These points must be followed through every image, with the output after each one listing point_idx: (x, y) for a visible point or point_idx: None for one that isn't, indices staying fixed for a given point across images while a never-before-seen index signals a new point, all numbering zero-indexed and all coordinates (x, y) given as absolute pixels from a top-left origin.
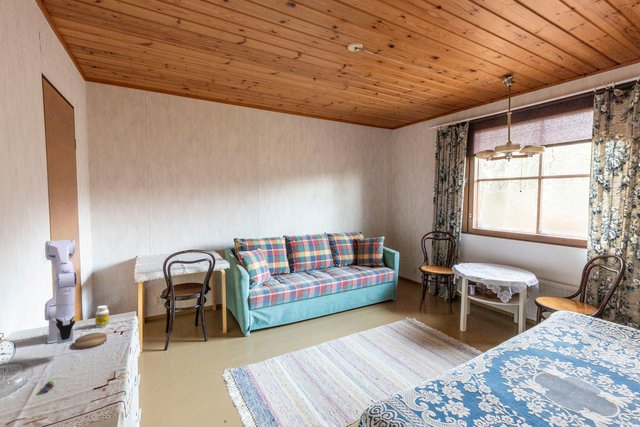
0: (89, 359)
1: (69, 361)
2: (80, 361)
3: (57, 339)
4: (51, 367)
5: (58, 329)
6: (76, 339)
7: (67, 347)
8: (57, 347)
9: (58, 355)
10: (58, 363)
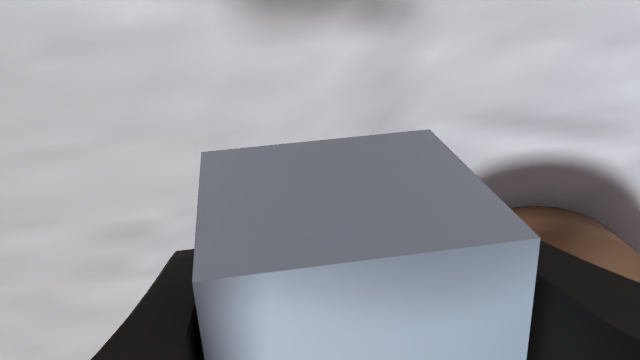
0: (78, 351)
1: (132, 187)
2: (70, 283)
3: (303, 166)
4: (56, 21)
5: (465, 267)
6: (609, 244)
7: (549, 143)
8: (629, 46)
9: (381, 71)
10: (138, 86)
